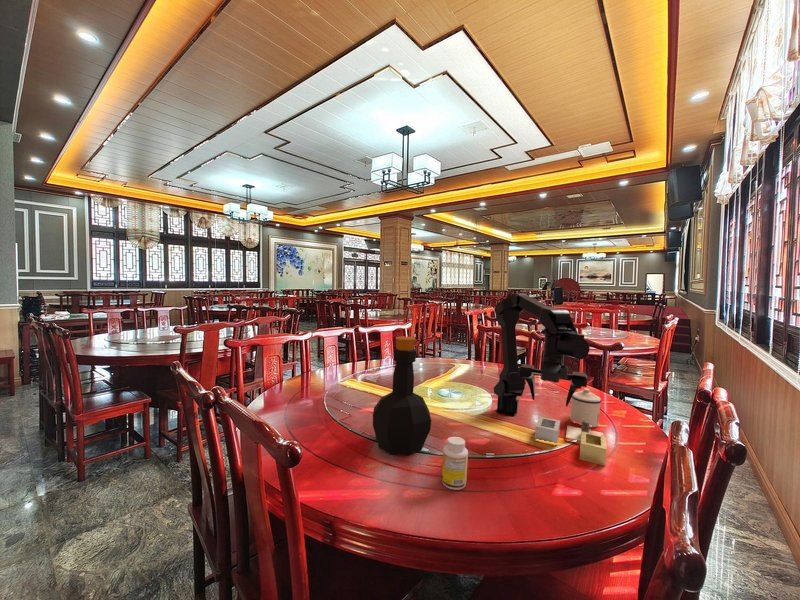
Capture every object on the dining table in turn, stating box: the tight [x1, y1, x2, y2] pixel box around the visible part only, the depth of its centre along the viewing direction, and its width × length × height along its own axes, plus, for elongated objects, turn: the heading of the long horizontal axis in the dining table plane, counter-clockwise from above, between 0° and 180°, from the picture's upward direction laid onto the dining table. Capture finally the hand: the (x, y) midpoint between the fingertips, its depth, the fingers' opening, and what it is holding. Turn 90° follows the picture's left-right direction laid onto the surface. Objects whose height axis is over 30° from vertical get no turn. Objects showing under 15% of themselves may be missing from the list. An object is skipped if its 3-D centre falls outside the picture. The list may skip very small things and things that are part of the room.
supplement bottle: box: [441, 436, 469, 491], centre depth 82 cm, size 6×6×10 cm
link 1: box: [534, 416, 561, 444], centre depth 110 cm, size 9×6×4 cm, turn 152°
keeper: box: [565, 421, 604, 445], centre depth 110 cm, size 10×10×5 cm
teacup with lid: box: [569, 387, 602, 428], centre depth 125 cm, size 12×9×12 cm
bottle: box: [372, 335, 432, 456], centre depth 99 cm, size 16×16×30 cm
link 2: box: [579, 431, 608, 466], centre depth 100 cm, size 9×6×4 cm, turn 152°
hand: (549, 402), depth 109 cm, fingers open, 9 cm apart
